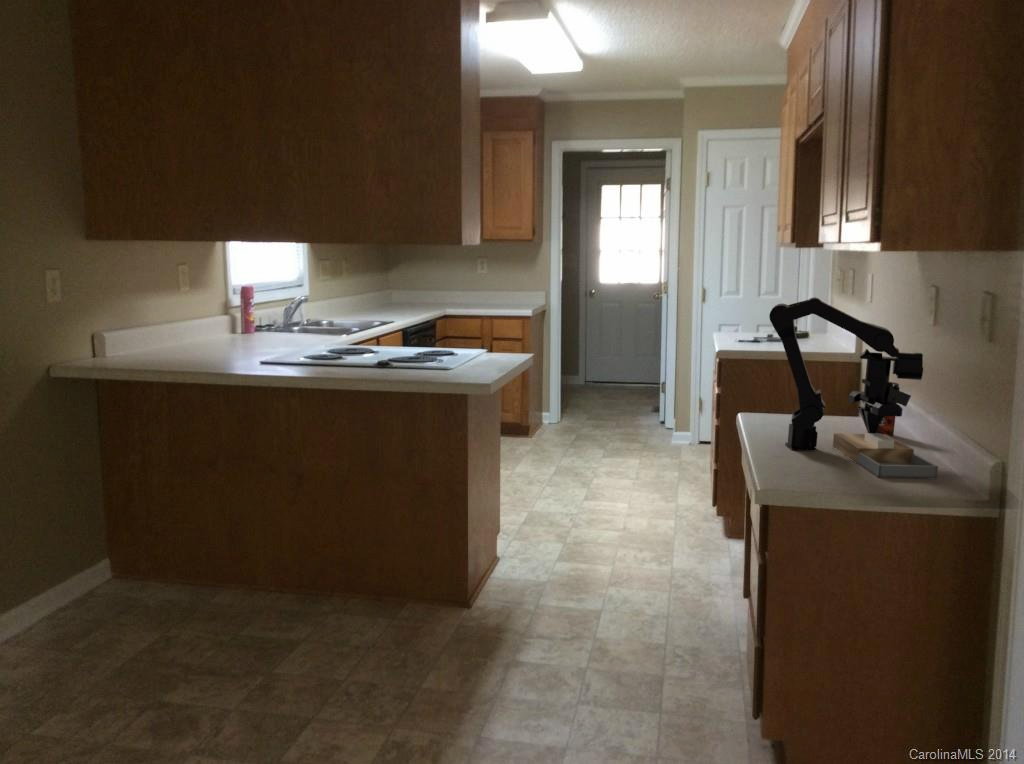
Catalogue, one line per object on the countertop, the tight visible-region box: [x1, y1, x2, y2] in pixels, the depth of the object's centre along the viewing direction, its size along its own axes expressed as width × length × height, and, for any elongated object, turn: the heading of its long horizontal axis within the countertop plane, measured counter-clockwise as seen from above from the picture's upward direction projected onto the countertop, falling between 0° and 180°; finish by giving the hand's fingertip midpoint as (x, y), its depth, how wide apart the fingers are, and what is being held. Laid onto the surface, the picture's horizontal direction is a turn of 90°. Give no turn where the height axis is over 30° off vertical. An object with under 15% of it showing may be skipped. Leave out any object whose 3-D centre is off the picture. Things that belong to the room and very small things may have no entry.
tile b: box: [871, 437, 894, 449], centre depth 221 cm, size 4×4×2 cm
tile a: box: [864, 432, 886, 444], centre depth 225 cm, size 4×4×2 cm
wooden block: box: [832, 432, 915, 464], centre depth 227 cm, size 14×16×4 cm
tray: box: [856, 452, 939, 479], centre depth 214 cm, size 14×12×3 cm
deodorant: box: [876, 381, 900, 437], centre depth 251 cm, size 6×6×15 cm
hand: (871, 436), depth 228 cm, fingers closed
